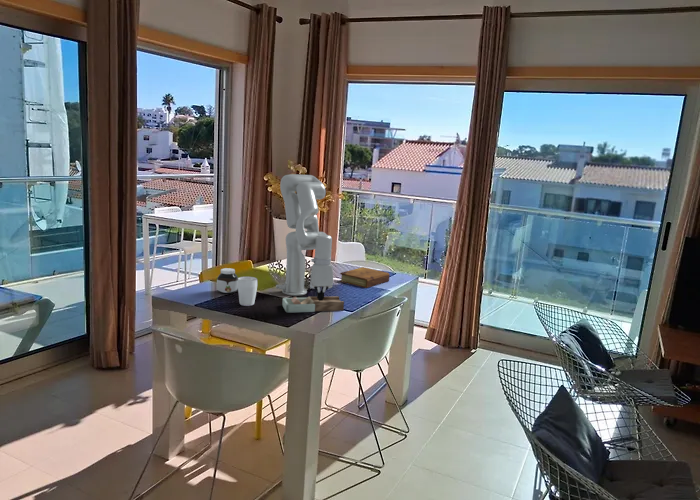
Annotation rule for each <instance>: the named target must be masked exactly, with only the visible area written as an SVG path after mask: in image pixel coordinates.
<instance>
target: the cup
mask: <svg viewBox="0 0 700 500" xmlns="http://www.w3.org/2000/svg"><path fill="white" fill-rule="evenodd" d="M257 289H258V278H257V277H254V276H240V277H238V290H237V293H238V300H239V304H240V305H241V306H243V307H244V306H245V307H251V306H253V305H255V300H256V297H257Z"/></svg>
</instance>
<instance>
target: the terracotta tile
mask: <svg viewBox="0 0 700 500" xmlns="http://www.w3.org/2000/svg"><path fill="white" fill-rule="evenodd" d="M291 298H292V299H291V300H292V302H293V303H294V304H301V302H300V301H299V300H298V299H297V298H298V297H297V296H293V297H291Z"/></svg>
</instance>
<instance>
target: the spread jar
mask: <svg viewBox="0 0 700 500" xmlns="http://www.w3.org/2000/svg"><path fill="white" fill-rule="evenodd" d="M238 278H239V277H238V275H237V274H236V270H235V268H232V267H231V268H230V267H229V268H227V267H225V268H221V269H220V274H218V276H217V278H216V289H217V292H218V293H220V294H221V295H226V294H229V295H234V294H235V293H236V292H238Z"/></svg>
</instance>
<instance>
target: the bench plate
mask: <svg viewBox="0 0 700 500" xmlns="http://www.w3.org/2000/svg"><path fill="white" fill-rule="evenodd" d="M310 298H311V299H312V300H313V301H314V304H315V312H330V311H331V312H334V311H340V310H341V311H344V310H345V308H344V307H345V305H344V304H345V301H343V300H342V301H341V299H340V296H338V295H337V296H333V295H332V296H324V299H323V301H319V300H318V299H317V296H310Z"/></svg>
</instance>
